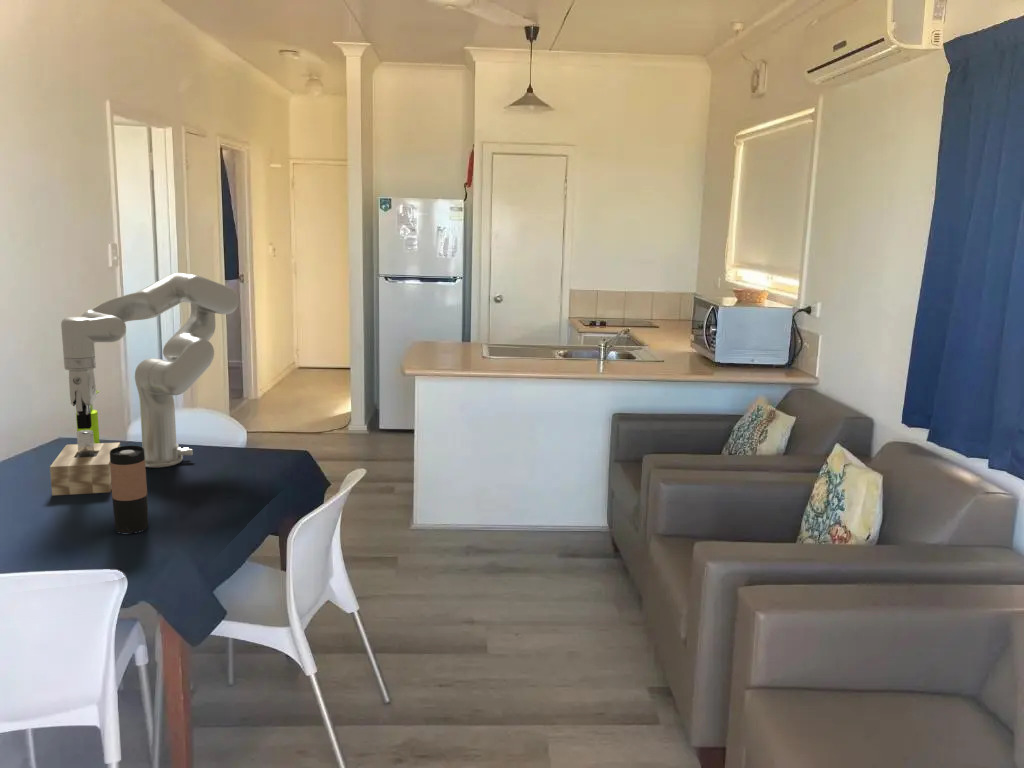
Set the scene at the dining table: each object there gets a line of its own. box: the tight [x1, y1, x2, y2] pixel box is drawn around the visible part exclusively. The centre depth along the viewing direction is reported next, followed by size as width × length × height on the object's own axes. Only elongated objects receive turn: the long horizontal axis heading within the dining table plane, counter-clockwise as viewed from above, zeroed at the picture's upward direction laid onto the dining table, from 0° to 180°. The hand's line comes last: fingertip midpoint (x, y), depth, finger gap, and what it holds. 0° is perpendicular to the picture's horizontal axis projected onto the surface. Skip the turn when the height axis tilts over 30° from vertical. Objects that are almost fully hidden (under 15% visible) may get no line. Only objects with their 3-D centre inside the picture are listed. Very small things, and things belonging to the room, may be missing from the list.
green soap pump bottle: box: [75, 389, 101, 443], centre depth 249 cm, size 6×7×20 cm
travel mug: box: [110, 445, 149, 534], centre depth 195 cm, size 8×8×20 cm
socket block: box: [49, 442, 121, 496], centre depth 226 cm, size 14×20×8 cm
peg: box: [76, 430, 95, 457], centre depth 225 cm, size 4×4×7 cm
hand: (84, 427), depth 224 cm, fingers closed
